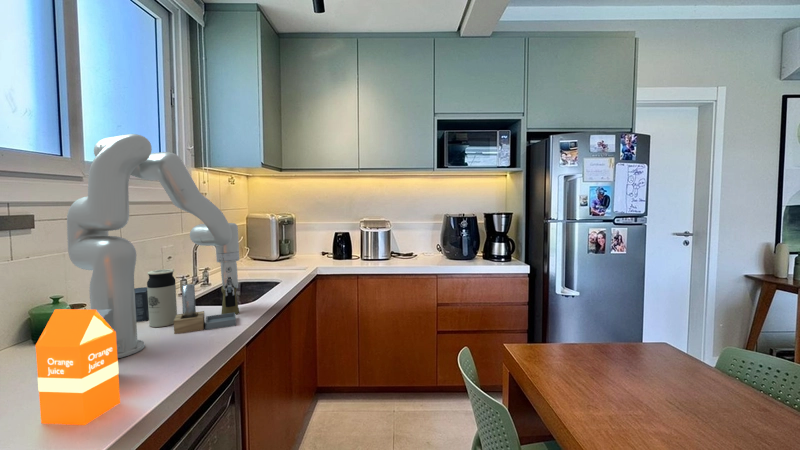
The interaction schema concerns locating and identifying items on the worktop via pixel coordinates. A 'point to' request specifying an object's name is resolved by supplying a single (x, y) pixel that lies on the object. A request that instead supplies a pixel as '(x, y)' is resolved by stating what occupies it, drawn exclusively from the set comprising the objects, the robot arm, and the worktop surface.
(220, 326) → the tray
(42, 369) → the orange juice
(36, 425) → the worktop surface
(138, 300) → the box
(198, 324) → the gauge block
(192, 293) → the silver rectangular bar
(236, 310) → the olive green tall block
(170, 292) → the travel mug
